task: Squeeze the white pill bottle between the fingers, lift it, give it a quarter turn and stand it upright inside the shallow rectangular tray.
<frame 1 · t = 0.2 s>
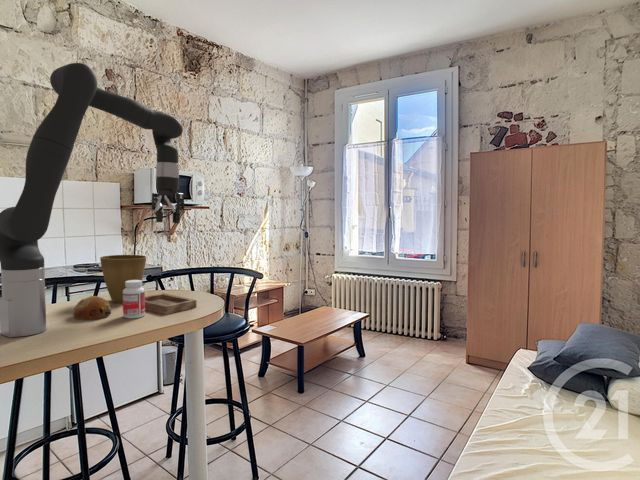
hand: (167, 222, 141), 28 cm above the table, tool pointing down, fingers open, 8 cm apart
pill bottle: (134, 316, 124), on the table
plant pot: (124, 301, 145), on the table
bread roll: (94, 317, 124), on the table
shallow rectangular tray: (164, 306, 137), on the table
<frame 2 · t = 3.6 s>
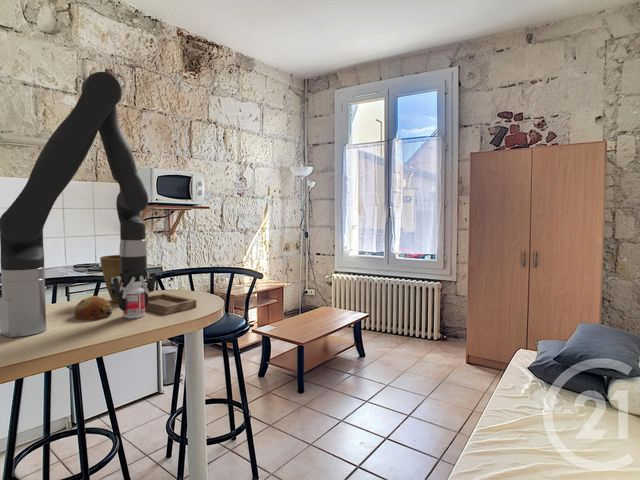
hand: (134, 307, 124), 3 cm above the table, tool pointing down, fingers closed on pill bottle, 6 cm apart
pill bottle: (134, 316, 124), on the table, touching gripper
everything else where it was.
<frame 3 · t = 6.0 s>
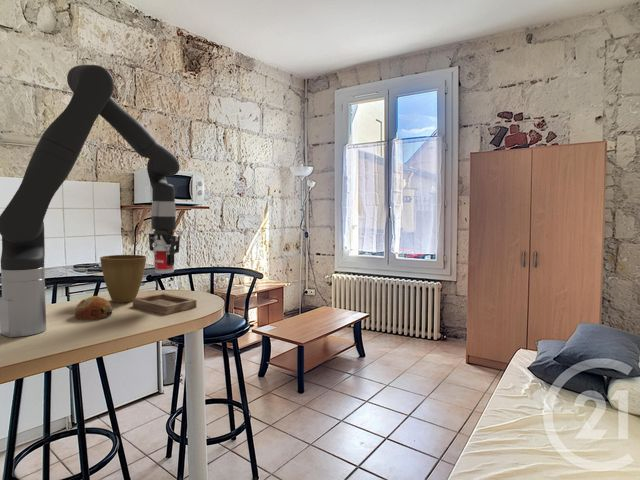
hand: (164, 264, 135), 15 cm above the table, tool pointing down, fingers closed on pill bottle, 6 cm apart
pill bottle: (164, 272, 136), point 12 cm above the table, touching gripper
everything else where it was.
when the fingers open (5 cm above the table, at t = 8.6 s): pill bottle stays where it is, resting on shallow rectangular tray.
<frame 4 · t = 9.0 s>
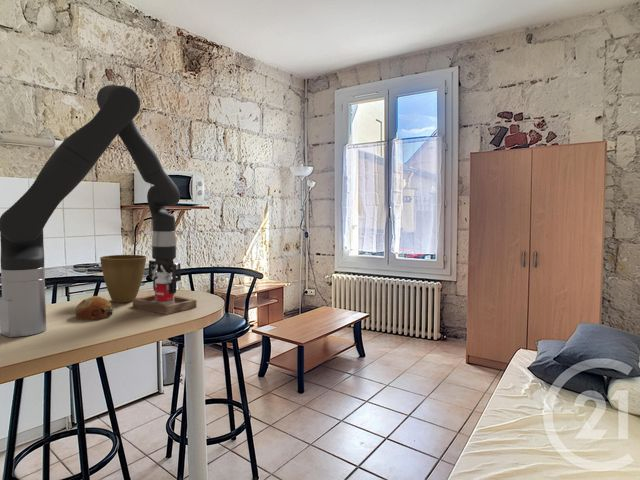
hand: (164, 292, 136), 5 cm above the table, tool pointing down, fingers open, 8 cm apart
pill bottle: (164, 304, 136), point 1 cm above the table, touching shallow rectangular tray
everything else where it was.
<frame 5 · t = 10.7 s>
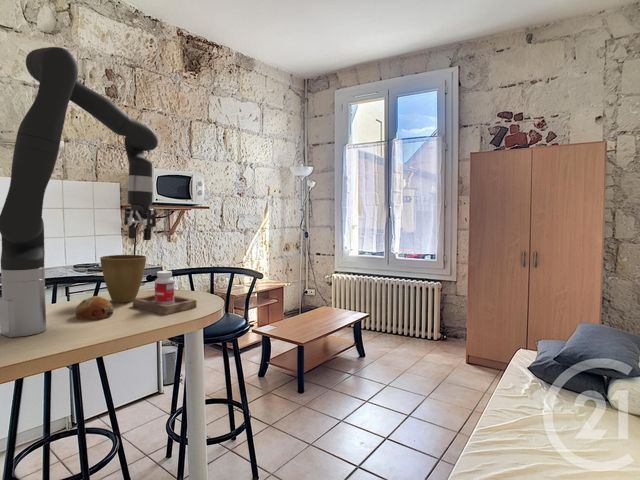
hand: (139, 239, 134), 23 cm above the table, tool pointing down, fingers open, 8 cm apart
nothing on the table moved.
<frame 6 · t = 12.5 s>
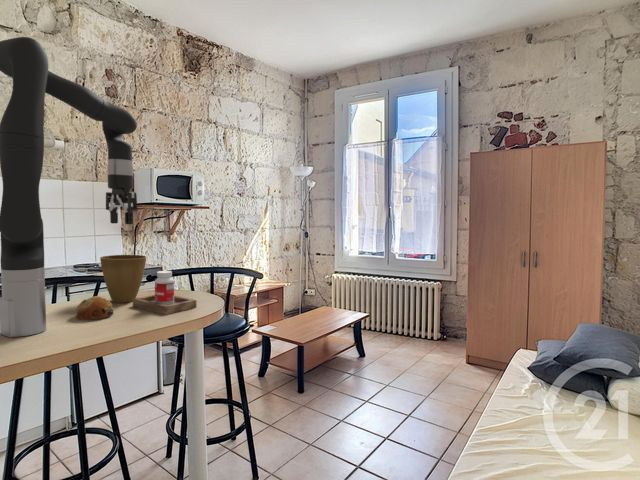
hand: (121, 223, 132), 28 cm above the table, tool pointing down, fingers open, 8 cm apart
nothing on the table moved.
at the end: pill bottle inside the target area on the shallow rectangular tray (0.1 cm from its centre), point 0.8 cm above the shallow rectangular tray's base; pill bottle tilted 0°; the gripper is holding nothing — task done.
